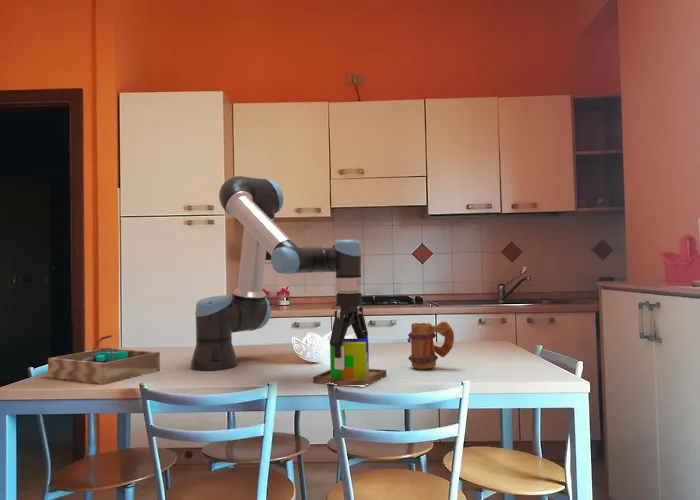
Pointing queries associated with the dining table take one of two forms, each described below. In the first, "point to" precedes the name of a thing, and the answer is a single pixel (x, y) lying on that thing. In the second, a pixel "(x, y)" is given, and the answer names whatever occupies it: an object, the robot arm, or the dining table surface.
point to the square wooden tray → (371, 377)
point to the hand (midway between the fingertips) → (350, 364)
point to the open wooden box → (103, 366)
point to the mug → (429, 344)
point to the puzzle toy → (352, 360)
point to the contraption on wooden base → (107, 354)
